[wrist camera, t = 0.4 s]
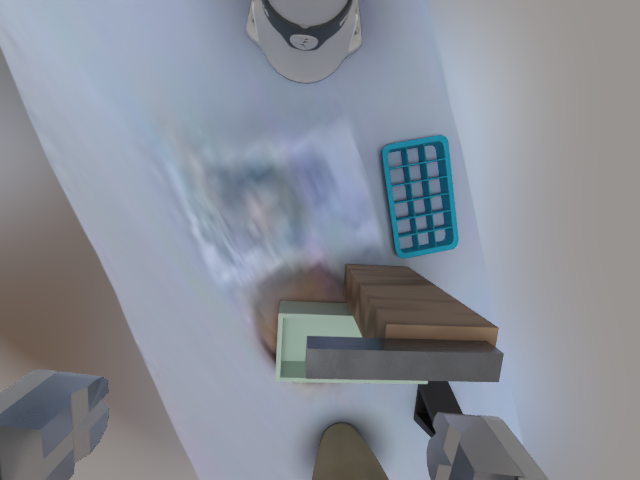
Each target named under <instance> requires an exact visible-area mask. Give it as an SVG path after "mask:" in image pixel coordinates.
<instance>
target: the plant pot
mask: <svg viewBox="0 0 640 480" xmlns="http://www.w3.org/2000/svg"><path fill="white" fill-rule="evenodd" d="M312 480H389V479H388V477H387V475H386V474H385V472H384V470H383V468H382V467H381V465H380V463H379V462H378V460H377V458H376V457H375V455H374V454H373V452H372V451H371V449H370V448H369V446H368V445H367V443H366V442H365V441H364V439H363V438H362V437H361V436H360V434H359V433H358V432H357V431H356V430H355V429H354V428H353V427H352V426H351V425H349V424H346V423H337V424H334V425H332V426H330V427H329V428H328V429H327V430H326V431H325V433H324V435H323V437H322V440H321V443H320V446H319V450H318V453H317V457H316V462H315V466H314V472H313V477H312Z"/></svg>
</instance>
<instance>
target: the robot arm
mask: <svg viewBox="0 0 640 480" xmlns="http://www.w3.org/2000/svg"><path fill="white" fill-rule="evenodd" d="M253 22H254V23H253ZM246 32H247V35H248V36H249V38H250V39H251V40H252V41H253V42H255V43H256V44H257V45H258V46H259V47H260V48H261V49H262V50H263V52H264V54H265V56H266V58H267V59H268V61H269V63H270V64H271V65H272V66H273V68H274V69H275V70H276V71H277V72H279V73H280V74H281V75H283V76H284V77H286V78H288V79H290V80H293V81H296V82H301V83H311V82H316V81H319V80H322V79H324V78H326V77H328V76H329V75H330V74H332V73H333V72H334V71H335V70H336V69H337V68H338V67H339V65H340V64H341V62H342V61H343V60H344V58H345V57H346V56H348V55H350V54H352V53H353V52H355V51H356V50H358V49H359V47H360V46H361V41H362V36H361V26H360V15H359V5H358V0H252V1H251V6H250V10H249V15H248V20H247V24H246ZM354 33H355V34H356V35H354ZM108 392H109V390H108V380H107V379H106V378H104V377H100V376H93V375H84V374H77V373H70V372H58V371H51V370H43V369H40V370H35V371H31V372H30V373H28V374H27V375H26V376H24V377H23V378H21V379H20V380H18V381H17V382H15V383H14V384H12V385H11V386H9V387H8V388H6V389H5V390H3V391H2V392H0V480H69V479H70V478H71V477H72V475H73V474H74V466H75V463H76V462H77V461H79V460H81V459H82V458H84V457H86V456H87V455H89V454H90V453H91V452H92V451H93V450H94V448H95V447H96V446H97V445H98V443H99V442H100V439H101V438H102V436H103V434H104V432H105V430H106V428H107V423H108V419H109V408H108V406H107V405H106V404H105V402H104V401H103V400H102V399H103V398H104V397H105V396H106V394H107V393H108ZM433 427H434V429H435V432H436V434H435V435H434V436H433V437H432V438H431V439H430V440H429V442H428V447H427V467H428V471H429V476H430V478H431V480H549V479H548V478H547V476H546V475H545V474H544V473H543V471H542V470H541V469H540V467H539V466H538V465H537V464H536V462H535V461H534V460H533V458H532V457H531V456H530V454H529V453H528V452H527V451H526V449H525V448H524V447H523V445H522V444H521V443H520V442H519V440H518V439H517V438H516V436H515V435H514V434H513V432H512V431H511V430H510V429H509V427H508V426H507V425H506V423H505V422H504V421H503V420H502V419H500V418H499V417H493V416H481V415H477V416H475V415H465V414H455V413H444V412H438V413H437V414H436V416H435V418H434V422H433Z"/></svg>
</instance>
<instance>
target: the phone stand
mask: <svg viewBox="0 0 640 480" xmlns="http://www.w3.org/2000/svg"><path fill="white" fill-rule="evenodd" d="M416 399H417V400H416V405H415V413H414V421H415V422H416V423H417V424H418V425H419V426H420V427H421V428H422V429H423V430H424V431H425V432H426V433H427V434H428V435H429V436H430V437H431V438H432V437H433V436H434V435H435V434H436V432H435V429H434V427H433V422H434V418H435V416H436V414H437V413H438V412H444V413H455V414H463V413H462V411H461V409H460V407H459V405H458V403H457V400H456V398H455V396H454V394H453V392H452V390H451V388H450V385H449V383H448V381H428V384H418V390H417V397H416Z"/></svg>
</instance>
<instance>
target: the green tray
mask: <svg viewBox="0 0 640 480" xmlns="http://www.w3.org/2000/svg"><path fill="white" fill-rule="evenodd" d="M307 336H331V337H362V335H361V333H360V331H359V328H358V326H357V324H356V322H355V320H354V317H353V315H352V313H351V311H350V308H349V306H348V304H347V303H330V302H304V301H280V308H279V315H278V335H277V356H276V376H275V382H323V383H387V384H428V381H409V380H349V379H306V374H305V357H306V342H307Z"/></svg>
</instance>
